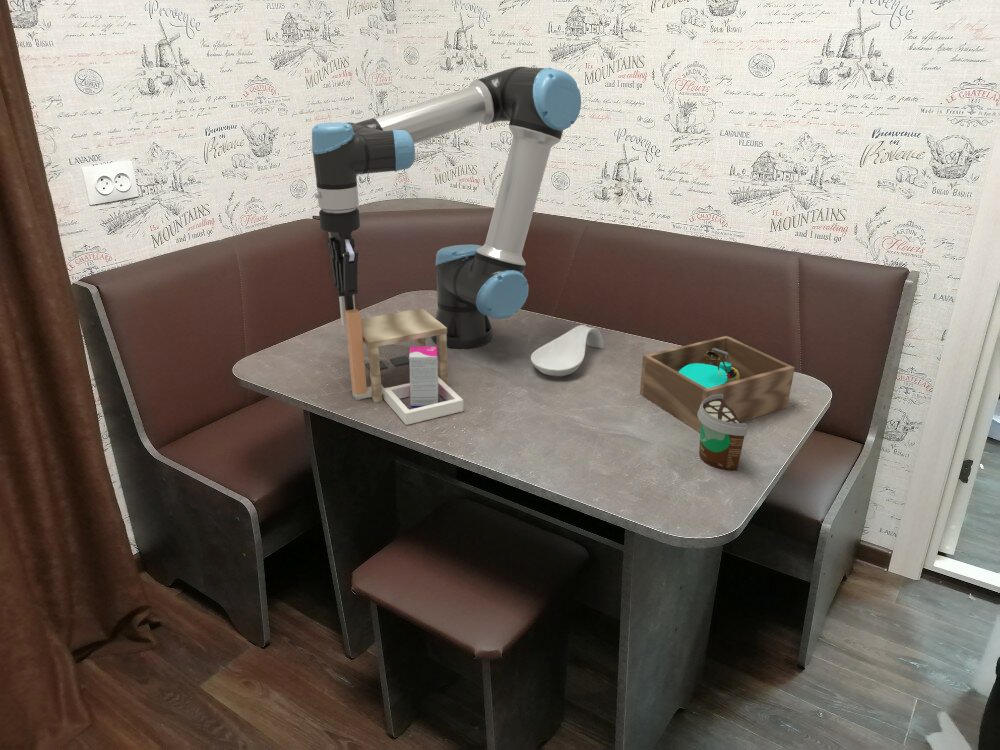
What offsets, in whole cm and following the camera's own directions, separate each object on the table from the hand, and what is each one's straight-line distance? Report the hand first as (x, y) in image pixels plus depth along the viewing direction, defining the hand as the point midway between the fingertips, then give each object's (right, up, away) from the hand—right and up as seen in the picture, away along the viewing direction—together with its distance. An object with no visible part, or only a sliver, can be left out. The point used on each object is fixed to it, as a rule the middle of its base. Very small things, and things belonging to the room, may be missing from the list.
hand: (349, 323), depth 152 cm
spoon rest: (+47, -8, +21) cm, 52 cm away
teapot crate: (+75, -16, +3) cm, 77 cm away
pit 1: (+3, -9, +18) cm, 20 cm away
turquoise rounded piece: (+75, -17, +2) cm, 77 cm away
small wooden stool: (+9, -12, +11) cm, 19 cm away
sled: (+12, -16, +2) cm, 20 cm away
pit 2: (+8, -7, +21) cm, 23 cm away
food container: (+69, -26, -17) cm, 76 cm away
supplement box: (+15, -16, +2) cm, 22 cm away
